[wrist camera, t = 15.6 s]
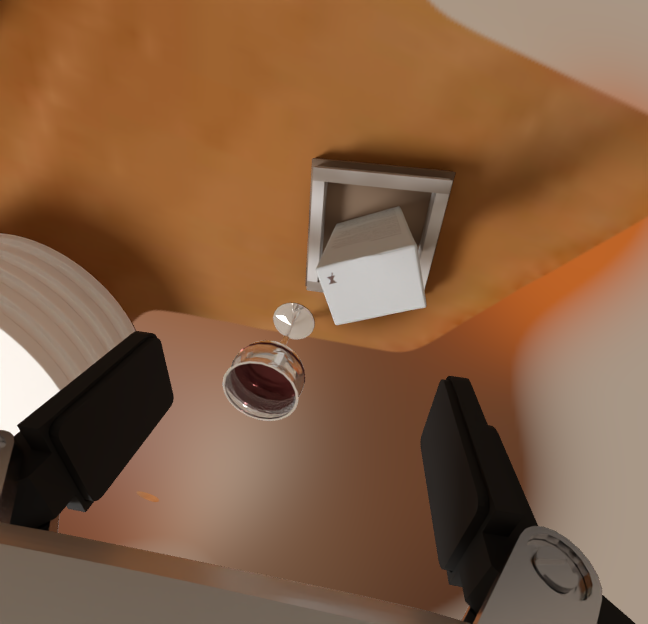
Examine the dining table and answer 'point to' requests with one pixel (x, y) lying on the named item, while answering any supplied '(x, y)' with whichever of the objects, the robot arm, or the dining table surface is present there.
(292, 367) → the wineglass
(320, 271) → the skincare box
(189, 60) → the dining table surface
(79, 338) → the plate stack
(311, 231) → the square tray
